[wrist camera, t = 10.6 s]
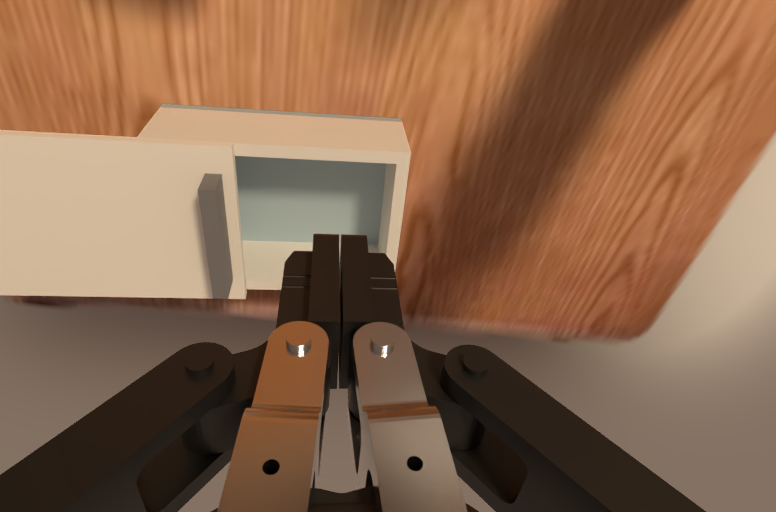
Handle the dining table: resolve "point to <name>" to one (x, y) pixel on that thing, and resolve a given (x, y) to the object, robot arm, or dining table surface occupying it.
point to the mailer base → (302, 178)
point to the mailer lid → (119, 217)
